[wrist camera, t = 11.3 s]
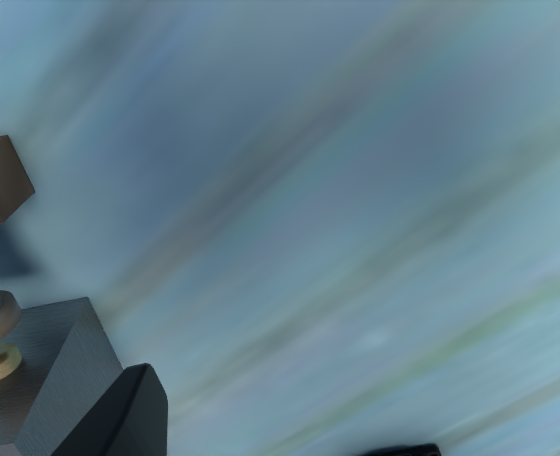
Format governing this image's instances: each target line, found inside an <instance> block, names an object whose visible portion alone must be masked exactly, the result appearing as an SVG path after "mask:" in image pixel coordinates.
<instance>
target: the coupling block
mask: <svg viewBox="0 0 560 456" xmlns="http://www.w3.org/2000/svg"><path fill="white" fill-rule="evenodd" d="M21 310H22V317H21V320H20V322H19V323H18V324H17V326H16V327H15V328H14V329H13V330H12V331H11V332H10V333H9V334H8V335H6V336H5V337H4V338H2V339H1V340H0V456H50V455H51V454H52V453H53V451H54V450H55V449H56V448H57V447H58V446H59V444H60V443H61V442H62V441H63V440H64V439H65V438H66V436H67V435H68V434H69V433H70V432H71V431H72V429H73V428H74V427H75V426H76V425H77V424H78V422H79V421H80V420H81V419H82V418H83V417H84V416H85V414H86V413H87V412H88V411H89V410H90V409H91V407H92V406H93V405H94V404H95V403H96V402H97V401H98V399H99V398H100V397H101V396H102V395H103V394H104V392H105V391H106V390H107V389H108V388H109V387H110V385H111V384H112V383H113V382H114V381H115V380H116V379H117V377H118V376H119V375H120V374H121V373H122V372H123V371H124V370H123V368H122V366H121V364H120V362H119V360H118V358H117V356H116V354H115V352H114V350H113V348H112V346H111V344H110V342H109V340H108V338H107V335H106V333H105V331H104V329H103V327H102V325H101V323H100V321H99V319H98V317H97V315H96V313H95V311H94V309H93V307H92V305H91V303H90V300H89V298H88V297H85V298H80V299H74V300H69V301H64V302H58V303H53V304H48V305H43V306H37V307H32V308H27V309H21Z"/></svg>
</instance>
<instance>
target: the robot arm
mask: <svg viewBox="0 0 560 456" xmlns="http://www.w3.org/2000/svg"><path fill="white" fill-rule="evenodd" d="M167 423H168V400H167V396H166V393H165V390H164V388H163V386H162V384H161V382H160V380H159V378H158V376H157V374H156V372H155V370H154V368H153V367H152V366H151V365H150V364H148V363H143V364H139V365H134V366H130V367H127V368H126V369H125V370H124V371H123V372H122V373H121V374H120V375H119V376H118V377H117V379H116V380H115V381H114V382H113V383H112V384H111V385H110V387H109V388H108V389H107V390H106V391H105V392H104V394H103V395H102V396H101V397H100V398H99V399H98V401H97V402H96V403H95V404H94V405H93V406H92V407H91V409H90V410H89V411H88V412H87V413H86V414H85V416H84V417H83V418H82V419H81V420H80V421H79V422H78V424H77V425H76V426H75V427H74V428H73V429H72V431H71V432H70V433H69V434H68V435H67V436H66V438H65V439H64V440H63V441H62V442H61V443H60V444H59V446H58V447H57V448H56V449H55V450H54V451H53V453H52V454H51V455H50V456H166V455H167ZM375 456H441V453H440V450H439V448H438V447H436V446H428V447H422V448H417V449H411V450H405V451H399V452H393V453H387V454H381V455H375Z"/></svg>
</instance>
